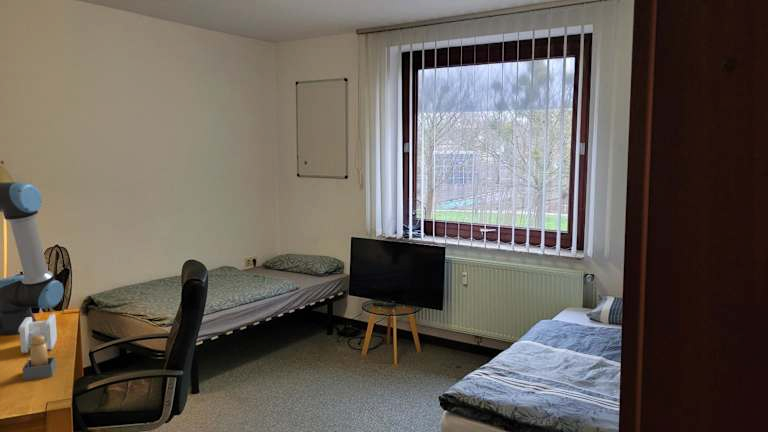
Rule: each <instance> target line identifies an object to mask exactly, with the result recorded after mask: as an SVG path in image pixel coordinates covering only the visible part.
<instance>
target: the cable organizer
mask: <svg viewBox="0 0 768 432" xmlns="http://www.w3.org/2000/svg"><path fill="white" fill-rule="evenodd" d="M56 319H57V318H56V314H55V313H51V314H49V316H48V318H47V319H46V320H40V321H39V320H38V321H37V320H36V322H33V321H32V317H26V318H25V319H24V321H23V322H22V324H21V325H20V326H19V329H18V332H20V334H19V341H20V351H21V353H22V354H28V353H29V351H30V344H32V337H34V336H38V335H44V336H45V342H47V351H48V350H49V351H52V350H53V349H54V346H55V344H56V343H57V339H58V333H57V321H56Z"/></svg>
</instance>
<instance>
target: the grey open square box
mask: <svg viewBox="0 0 768 432" xmlns="http://www.w3.org/2000/svg"><path fill="white" fill-rule="evenodd" d="M56 361H57V360H56V356H52V357H51V356H50V357H48V365H45V366H36V367H31V359H27V361H26V363H25V364H24V366H23V367H22V377H23V381H27V380H36V379H43V378H50V377H53V375H54V373H55V372H56V369H57V363H56Z"/></svg>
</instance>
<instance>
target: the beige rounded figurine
mask: <svg viewBox="0 0 768 432" xmlns="http://www.w3.org/2000/svg"><path fill="white" fill-rule="evenodd" d="M29 351H30V354H29V355H30V360H31V367H36V366H45V365H48V358H49V357H48V354H49V353H48V349H47V342H45V336H44V335H38V336H34V337H32V344H30V349H29Z"/></svg>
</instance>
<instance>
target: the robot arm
mask: <svg viewBox="0 0 768 432" xmlns="http://www.w3.org/2000/svg"><path fill="white" fill-rule="evenodd" d="M42 200H43V199H42V195H41V192H40V190H39V189H38V188H37V187H36V186H35V185H33V184H32V183H28V182H22V181H21V182H19V181H17V182H14V181H13V182H9V181H8V182H5V181H4V182H3V181H2V182H1V181H0V212H2V213H3V217H4V218H3V219H4V220H6V221H8V222H10V226H11V230H12V234H13V238H14V241H15V245H16V248H17V253H18V257H19V260H20V261H19V262H20V264H21V268H22V271H23V274H19V275H12V276H8V277H7V276H6V277H4V278H0V336H13V335H20V332H18V329H19V326H20V325H21V324H22V322H23V321H24V319H25V318H26V317H32V321H33V322H37V319H36V318H35V316H34V314H33V312H32V308H35V309H42V310H43V309H52V308H54V307H56V306H57V305H58V304H59V303H60V302H61V301H62V298H63V295H64V285H63V283H62V282H60V281H59V280H56V279H55V275H54V273H53V272H52V271H50V270H49V268H48V265H47V261H46V257H45V253H44V249H43V244H42V241H41V237H40V233H39V230H38V225H37V221H36V217H37V215H38V213H39V211H38V210H39V209H40V208H41V205H42Z"/></svg>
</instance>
